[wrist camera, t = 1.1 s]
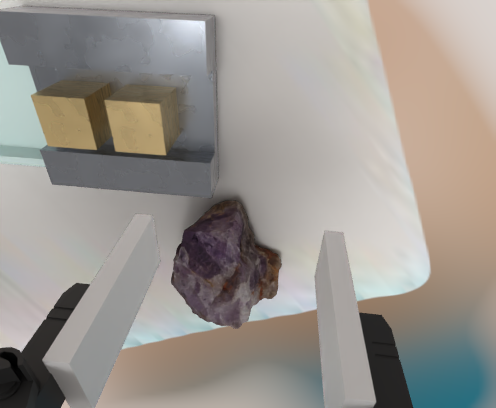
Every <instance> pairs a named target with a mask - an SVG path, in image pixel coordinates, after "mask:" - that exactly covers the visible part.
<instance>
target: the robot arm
mask: <svg viewBox="0 0 496 408" xmlns="http://www.w3.org/2000/svg"><path fill="white" fill-rule="evenodd" d="M160 261H161V260H160V254H159V248H158V242H157V236H156V230H155V224H154V218H153V215H146V214H135V215H134V217H133V218H132V220H131V222H130V223H129V225H128V226H127V228H126V229H125V231H124V233H123V234H122V236H121V237H120V239H119V240H118V242H117V243H116V245H115V247H114V248H113V250H112V251H111V253H110V254H109V256H108V258H107V259H106V261H105V262H104V264H103V265H102V267H101V269H100V270H99V272H98V273H97V275H96V276H95V278H94V279H93V281H92V283H91V284H81V283H76V284H74V285H73V286H72V287H71V288H69V289H68V290H67V291H66V292H64V293H63V294H62V296H61V297H60V298H59V300H58V301H57V303H56V304H55V306H54V309H52V310H51V311H50V313H49V314H48V315H47V318H46V320H44V321H43V323H42V324H41V325H40V327H39V328H38V330H37V331H36V332H35V334H34V335H33V337H32V338H31V340H30V341H29V342H28V344H27V345H26V347H25V348H24V349H23V351H22V352H20V350H17V349H15V348H12V347H10V348H0V408H61V406H62V404H63V402H64V400H65V399H66V401H67V403H68V404H69V406H70V407H71V408H95V406H96V404H97V402H98V399H99V397H100V395H101V393H102V391H103V388H104V386H105V383H106V381H107V379H108V377H109V375H110V372H111V370H112V368H113V366H114V364H115V362H116V359H117V357H118V355H119V353H120V350H121V348H122V346H123V344H124V342H125V339H126V337H127V335H128V333H129V330H130V328H131V326H132V324H133V322H134V319H135V317H136V315H137V313H138V310H139V308H140V306H141V304H142V301H143V299H144V297H145V295H146V293H147V290H148V288H149V286H150V284H151V281H152V279H153V277H154V275H155V273H156V270H157V268H158V266H159V264H160ZM315 288H316V301H317V314H318V328H319V341H320V353H321V368H322V380H323V394H324V408H413V405H412V402H411V398H410V395H409V391H408V388H407V384H406V380H405V377H404V373H403V369H402V366H401V362H400V360H399V355H398V351H397V348H396V347H395V341H394V337H393V334H392V330H391V328H390V327H389V325H388V324H387V322H386V321H385V319H384V318H383V317H382V315H376V314H367V313H359V311H358V306H357V301H356V296H355V291H354V285H353V280H352V275H351V270H350V265H349V260H348V255H347V250H346V245H345V239H344V234H343V232H332V231H324V235H323V240H322V245H321V249H320V254H319V259H318V263H317V268H316V273H315Z"/></svg>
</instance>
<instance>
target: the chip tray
mask: <svg viewBox="0 0 496 408" xmlns="http://www.w3.org/2000/svg"><path fill="white" fill-rule="evenodd" d="M36 92H37V90H36V87H35V84H34V81H33V78H32V75H31V72H30V69H29V66H23V65H9V64H8V61H7V58H6V56H5V53H4V50H3V47H2V45H1V42H0V163H3V164H15V165H27V166H39V167H46V166H45V163H44V160H43V158H42V155H41V152H40V149H42V148H43V147H45V146H46V145H47V142H46V139H45V136H44V133H43V130H42V127H41V124H40V121H39V119H38V116H37V113H36V110H35V107H34V104H33V101H32V98H31V95H32V94H34V93H36Z"/></svg>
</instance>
